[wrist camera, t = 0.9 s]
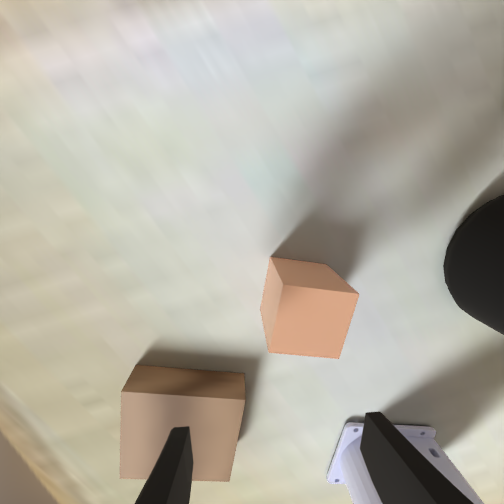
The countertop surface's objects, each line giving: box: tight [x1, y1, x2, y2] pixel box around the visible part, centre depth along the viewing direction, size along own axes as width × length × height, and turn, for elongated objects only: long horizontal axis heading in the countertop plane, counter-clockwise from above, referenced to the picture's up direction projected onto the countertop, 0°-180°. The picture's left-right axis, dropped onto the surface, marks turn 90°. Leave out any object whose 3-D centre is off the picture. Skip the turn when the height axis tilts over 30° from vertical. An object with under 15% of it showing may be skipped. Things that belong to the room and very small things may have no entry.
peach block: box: [260, 257, 359, 359], centre depth 16 cm, size 4×4×5 cm
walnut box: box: [120, 365, 246, 482], centre depth 20 cm, size 9×9×3 cm
